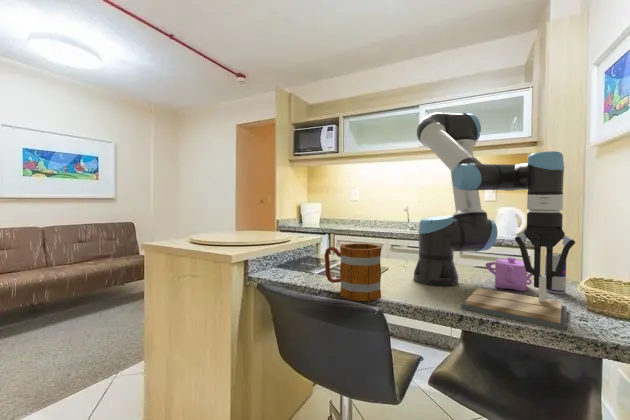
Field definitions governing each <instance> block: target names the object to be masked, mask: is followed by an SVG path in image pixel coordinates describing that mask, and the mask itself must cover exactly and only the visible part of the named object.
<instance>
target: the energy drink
mask: <svg viewBox="0 0 630 420" xmlns="http://www.w3.org/2000/svg"><path fill="white" fill-rule="evenodd" d="M560 256H561V253H557V252H553V264H552V271H555V270H556V268H557V265H558V262H559V259H560ZM544 275H545V276H546V254H545V255H544ZM566 286H567V260H566V261H565V264H564V267H563V270H562V273H561V275H560V276H554V277H553V278H552V288H551V290H549V289H547V290H546V293H549V294H555V295H564V294H566V289H567V287H566Z"/></svg>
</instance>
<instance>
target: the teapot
mask: <svg viewBox="0 0 630 420" xmlns="http://www.w3.org/2000/svg"><path fill="white" fill-rule="evenodd" d="M492 265H494V266H495V268H493V267H492ZM485 267H486V269H487V270H488V271H489V272H490V273H491V274H492V275H494V276H495V277H494V281H495V282H494V284H495V285H494V287H495V288H498V289H500V290H506V289H508V290H515V291H517V292H527V288H528V287H527V285H529V286H531V284H533V282H532V279H531V278H532V276H534V275H533V274H531V273H529V274H528V272H526V269H525V266H524V262H523V260H520V259H519V260H518V259H517V260H516V257H506V258H497V259H496V262H495V261H494V262H493V261H491V262H486V263H485ZM531 267H532V268H533V269H534V266H532V265H531ZM528 281H529V282H528Z"/></svg>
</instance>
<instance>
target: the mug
mask: <svg viewBox="0 0 630 420" xmlns="http://www.w3.org/2000/svg"><path fill="white" fill-rule="evenodd" d="M330 251H333V252H334V253H335V254H336V256H337V257H338V258H340V266H339V269H340V270H339V274H340V278H333V277H332V276H331V262H330ZM381 253H382V246H381V245H379V244H373V243H346V244H341V245H340V246H339V249H338V248H336V247H334V246H331V247H328V248H326V249H325V253H324V263H325V264H324V266H325V267H324V268H325V269H324V270H325V275H326V279H327V281H328V282H330V283H332V284H335V283H340V290H339V295H340V297H342V298H345V299H347V300H351V301H362V302H369V301H370V302H371V301H373V300H374V301H375V300H378V299H382V291H381V280H382V267H381V266H382V265H381V255H382V254H381Z"/></svg>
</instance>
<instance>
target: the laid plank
mask: <svg viewBox="0 0 630 420" xmlns="http://www.w3.org/2000/svg"><path fill="white" fill-rule="evenodd" d="M471 294H472V293H471ZM471 294H470V295H471ZM470 295H469V296H470ZM469 296H468V297H469ZM468 297H467V298H468ZM467 298H466V299H467ZM466 299H465V300H466ZM466 305H470V306H475V307H480V308H485V309H490V310H495V311H500V312H506V313H511V314H516V315H521V316H526V317H531V318H536V319H541V320H546V321H551V322H556V323H560V322H561V310H560V309H555V308H549V307H543V306H537V305H532V304H526V303H520V302H515V301H509V300H503V299H498V298H492V297H486V296H480V295H475V294H472V295H471V296H470V297H469V298H468V299H467V300H466Z"/></svg>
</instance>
